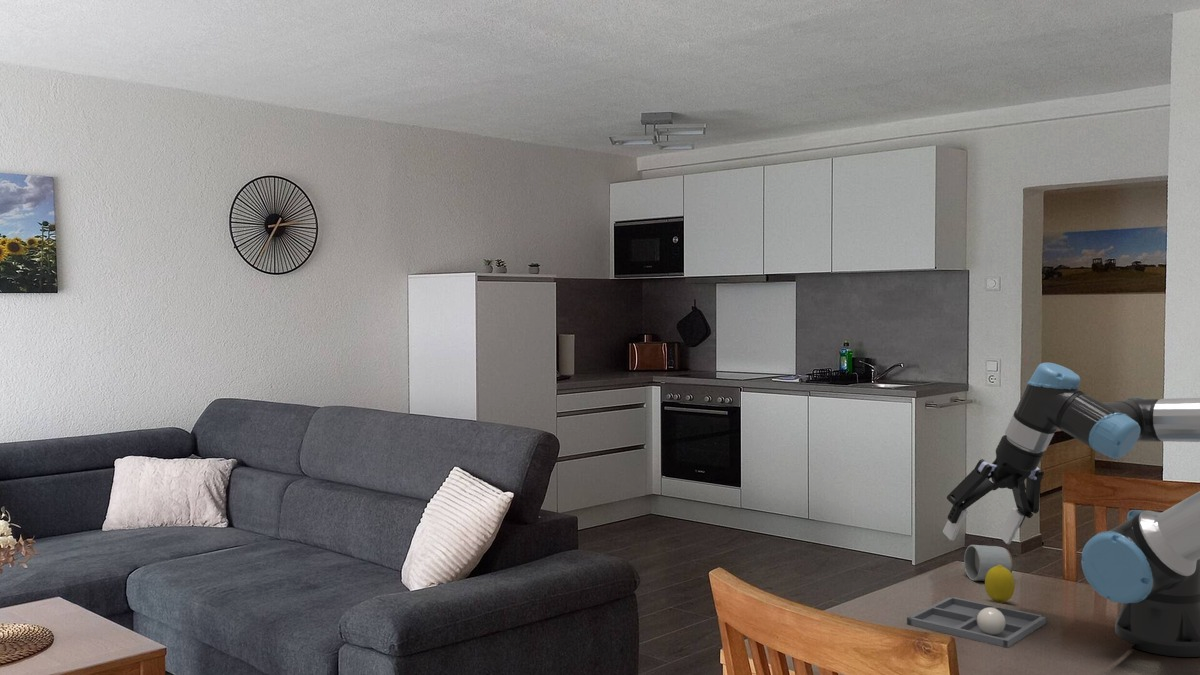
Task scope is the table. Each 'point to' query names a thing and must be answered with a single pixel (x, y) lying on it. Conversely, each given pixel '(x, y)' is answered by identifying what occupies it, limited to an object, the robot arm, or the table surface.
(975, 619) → the compartment tray
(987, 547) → the ceramic mug
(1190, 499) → the robot arm
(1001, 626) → the cream egg
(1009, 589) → the lemon
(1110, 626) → the table surface
